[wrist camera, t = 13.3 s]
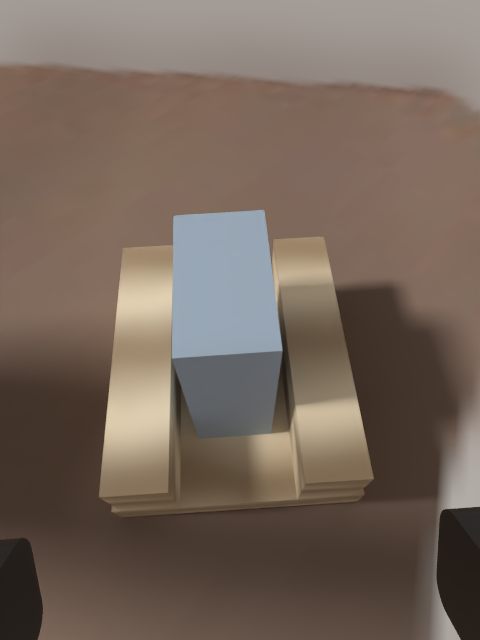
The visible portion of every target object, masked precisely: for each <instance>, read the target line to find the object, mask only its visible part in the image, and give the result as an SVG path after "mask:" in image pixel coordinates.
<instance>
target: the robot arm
mask: <svg viewBox="0 0 480 640" xmlns="http://www.w3.org/2000/svg"><path fill="white" fill-rule="evenodd" d="M437 585H438V590H439V594H440V598H441V601H442V604H443V606H444V609H445V611H446V613H447V615H448V617H449V618H450V620H451V622H452V624H453V626H454V628H455V629H456V631H457V633H458V635H459V637H460V639H461V640H480V507H472V508H458V509H445V510H443V511H442V513H441V515H440V523H439V540H438V558H437ZM42 614H43V606H42V599H41V594H40V589H39V584H38V579H37V574H36V568H35V563H34V558H33V553H32V548H31V545H30V542H29V541H28V540H27V539H25V538H20V539H6V540H0V640H37V639H38V636H39V633H40V629H41V623H42Z"/></svg>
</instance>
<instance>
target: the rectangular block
mask: <svg viewBox="0 0 480 640" xmlns="http://www.w3.org/2000/svg"><path fill="white" fill-rule="evenodd" d="M282 352H283V350H282V342H281V335H280V327H279V320H278V312H277V304H276V297H275V289H274V281H273V274H272V266H271V259H270V251H269V243H268V236H267V228H266V220H265V213H264V210H258V211H242V212H225V213H209V214H193V215H177V216H174V226H173V304H172V360H173V364H174V367H175V370H176V373H177V376H178V379H179V382H180V385H181V388H182V391H183V394H184V397H185V400H186V403H187V406H188V409H189V412H190V415H191V418H192V421H193V424H194V427H195V430H196V433H197V436H198V439H205V438H219V437H232V436H246V435H260V434H271V430H272V423H273V415H274V408H275V401H276V394H277V387H278V380H279V373H280V366H281V359H282Z"/></svg>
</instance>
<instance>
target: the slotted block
mask: <svg viewBox="0 0 480 640" xmlns="http://www.w3.org/2000/svg"><path fill="white" fill-rule="evenodd" d="M272 274H273V281H274V289H275V297H276V304H277V312H278V320H279V327H280V335H281V342H282V350H283V352H282V359H281V366H280V373H279V380H278V387H277V394H276V401H275V408H274V415H273V423H272V430H271V434H260V435H246V436H232V437H219V438H205V439H198V436H197V433H196V430H195V427H194V424H193V421H192V418H191V415H190V412H189V409H188V406H187V403H186V400H185V397H184V394H183V391H182V388H181V385H180V382H179V379H178V376H177V373H176V370H175V367H174V364H173V360H172V304H173V245H168V246H150V247H133V248H123V253H122V264H121V274H120V284H119V294H118V304H117V315H116V325H115V335H114V345H113V356H112V366H111V376H110V386H109V397H108V407H107V417H106V427H105V438H104V448H103V458H102V468H101V479H100V489H99V498H101V499H102V500H104V501H105V502H107V503H109V504H110V505H112V511H111V512H112V513H114V514H116V515H118V516H119V517H135V516H150V515H165V514H180V513H194V512H209V511H224V510H239V509H254V508H269V507H284V506H298V505H313V504H328V503H343V502H357V501H358V500H360V499H361V498H362V497H363V496H364V495H365V492H364V488H365V487H366V486H367V485H368V484H369V483H370V482H371V481H372V480H374V476H373V472H372V467H371V462H370V457H369V452H368V448H367V443H366V438H365V433H364V428H363V423H362V419H361V414H360V409H359V404H358V399H357V394H356V390H355V385H354V380H353V375H352V370H351V366H350V361H349V356H348V351H347V346H346V341H345V337H344V332H343V327H342V322H341V317H340V312H339V308H338V303H337V298H336V293H335V288H334V283H333V279H332V274H331V269H330V264H329V259H328V255H327V250H326V245H325V240H324V237H307V238H290V239H274V244H273V259H272Z"/></svg>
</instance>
